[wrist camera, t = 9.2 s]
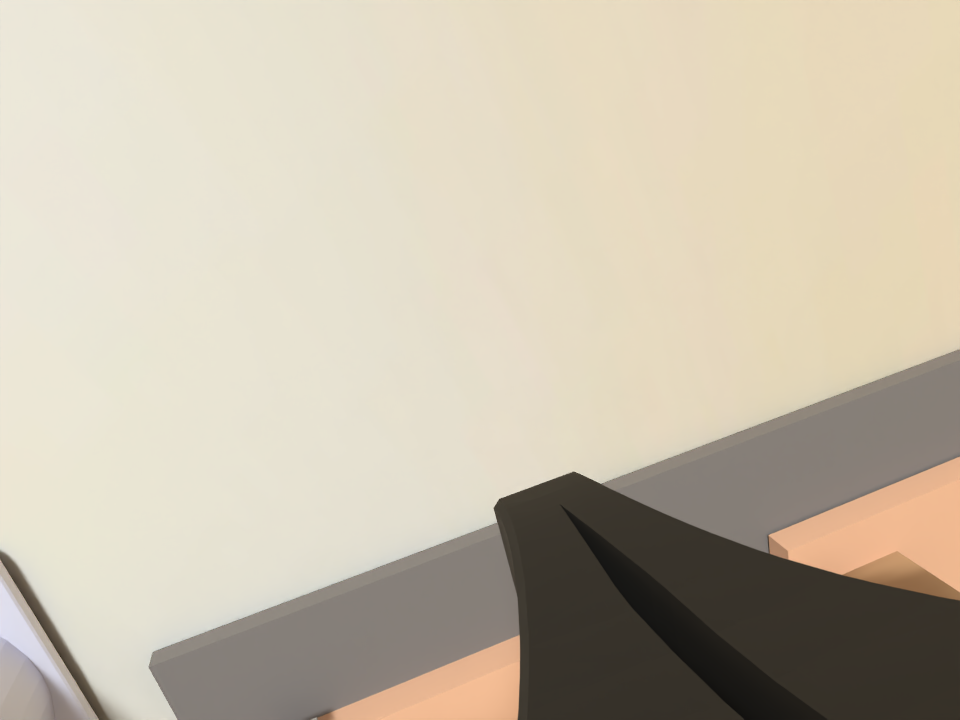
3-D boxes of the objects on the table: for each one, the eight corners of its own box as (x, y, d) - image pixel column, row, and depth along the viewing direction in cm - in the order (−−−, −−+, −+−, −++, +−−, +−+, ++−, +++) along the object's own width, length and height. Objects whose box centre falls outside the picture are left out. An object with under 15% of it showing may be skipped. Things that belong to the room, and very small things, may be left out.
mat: (341, 998, 25) (343, 1017, 25) (152, 652, 19) (149, 667, 18) (965, 692, 31) (978, 702, 30) (983, 340, 24) (999, 345, 24)
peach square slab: (785, 733, 27) (864, 825, 23) (768, 535, 23) (858, 607, 20) (981, 640, 29) (1084, 712, 25) (993, 442, 25) (1114, 493, 21)
